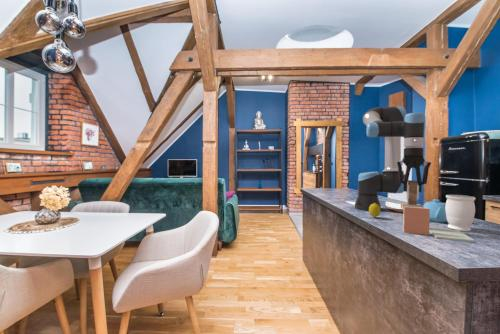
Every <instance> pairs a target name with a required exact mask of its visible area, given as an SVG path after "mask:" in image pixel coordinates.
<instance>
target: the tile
mask: <svg viewBox="0 0 500 334" xmlns="http://www.w3.org/2000/svg"><path fill="white" fill-rule="evenodd" d="M402 218H403V220H402V221H403V222H402V232H403V233H404V234H413V235H426V236H430V232H429V228H430V221H429V218H430V209H429V208H421V207H407V206H404V209H403V217H402Z"/></svg>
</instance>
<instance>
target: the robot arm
mask: <svg viewBox="0 0 500 334" xmlns="http://www.w3.org/2000/svg"><path fill="white" fill-rule="evenodd" d="M425 121H426V120H425V114H424V113H423V112H410V113H407V110H406V109H405V107H404V106H397V105H396V106H382V107H374V108H370V109H368V110H367V111H366V112H365V113H364V114H363V115H362V122H363V124H364V125H365V126H366V129H365V130H366V136H367V137H368V138H374V139H375V138H384V169H383V170H382V171H381V173H379V171H367V172H360V173H359V174H358V179H357V181H358V182H357V183H358V184H357V197H356V200H355V203H354V208H355V209H357V210H361V211H368V212H369V207H370V205H371V204H374V203H376V204H378V205H379V207H380V211H381V210H382V205H381V202H380V199H379V193H381V194H382V193H383V194H403V193H404V192H405V199H406V200H408V199H409V185H408V180H409V178H410V174H411V169H414V170H415V177H416V181H417V201H418V200H419V196H420V193H422V192H423V191H422V189H423V188H422V186H423V185H426V184H427V183H428V176H429V171H430V170H429V169H430V166H431V164H432V162H430V161H428V160H426V159H425V158H424V145H425V143H424V140H425V138H424V137H425ZM402 138H403V148H404V149H403V157H401V156H402V155H401V154H402V150H401V149H402V148H401V147H402V142H401V141H402ZM401 158H402V159H401ZM403 164H404V165H405V173H404V170H403ZM422 165H423V174H422V175H421V166H422ZM421 176H422V177H421Z"/></svg>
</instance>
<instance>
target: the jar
mask: <svg viewBox="0 0 500 334" xmlns="http://www.w3.org/2000/svg"><path fill="white" fill-rule="evenodd" d="M445 198H446V202H445V204H446V205H445V212H446V218H447V221H448V223H447V229H449V230H459V231H461V232H470V231H472V227H471V226H472V224H473V223H474V220H475V219H474V218H475V214H476V206H475V205H476V204H475V201H476V197H475V196H470V195H464V194H446V195H445Z"/></svg>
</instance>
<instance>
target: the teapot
mask: <svg viewBox="0 0 500 334" xmlns="http://www.w3.org/2000/svg"><path fill="white" fill-rule="evenodd" d="M422 205H423V206H424V208H429V209H430V218H429V222H432V223H439V222H440V224H446V223H447V224H449V223H448V221H447V218H446V212H445V205H446V202H441V201H440V199H434V198H433V199H432V200H430V201H426V202H425V203H424V204H422Z"/></svg>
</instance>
